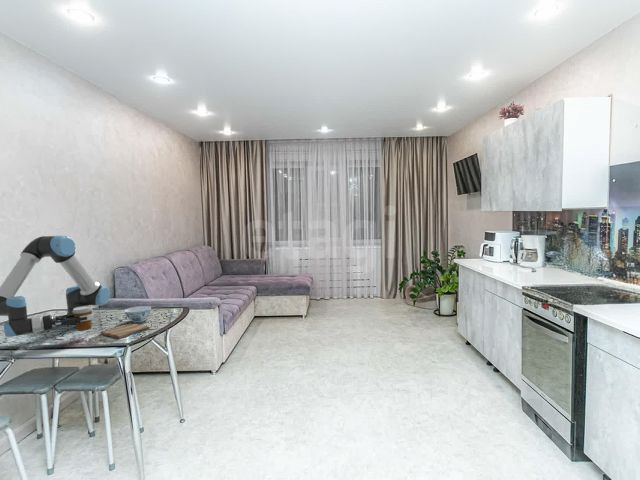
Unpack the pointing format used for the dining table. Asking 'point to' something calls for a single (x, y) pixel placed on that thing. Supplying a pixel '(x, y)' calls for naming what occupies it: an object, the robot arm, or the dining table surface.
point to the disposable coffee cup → (82, 312)
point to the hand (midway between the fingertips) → (93, 314)
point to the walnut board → (125, 330)
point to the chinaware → (138, 313)
